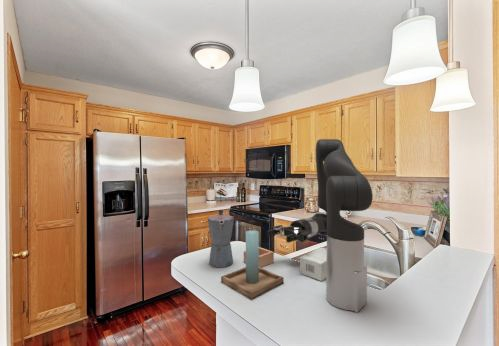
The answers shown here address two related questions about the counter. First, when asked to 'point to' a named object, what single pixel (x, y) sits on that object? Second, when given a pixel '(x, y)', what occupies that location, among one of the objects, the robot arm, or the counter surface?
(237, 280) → the tray
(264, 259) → the square terracotta collar
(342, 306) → the robot arm
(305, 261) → the skincare box
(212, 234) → the moka pot
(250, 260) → the dowel pin
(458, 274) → the counter surface
